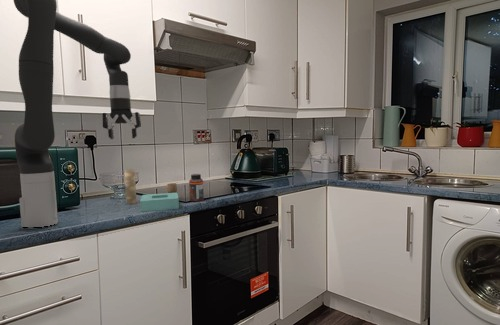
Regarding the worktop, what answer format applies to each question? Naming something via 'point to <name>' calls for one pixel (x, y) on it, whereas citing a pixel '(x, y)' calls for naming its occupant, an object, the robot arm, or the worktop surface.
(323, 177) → the worktop surface
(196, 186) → the supplement bottle
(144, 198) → the socket block
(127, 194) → the tall peg
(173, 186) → the short peg
